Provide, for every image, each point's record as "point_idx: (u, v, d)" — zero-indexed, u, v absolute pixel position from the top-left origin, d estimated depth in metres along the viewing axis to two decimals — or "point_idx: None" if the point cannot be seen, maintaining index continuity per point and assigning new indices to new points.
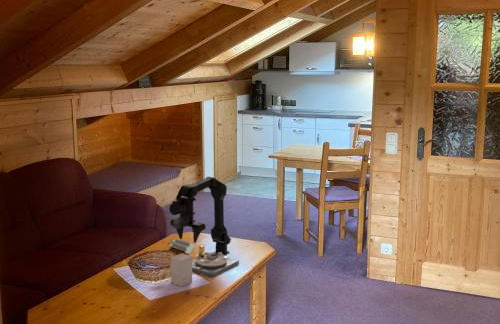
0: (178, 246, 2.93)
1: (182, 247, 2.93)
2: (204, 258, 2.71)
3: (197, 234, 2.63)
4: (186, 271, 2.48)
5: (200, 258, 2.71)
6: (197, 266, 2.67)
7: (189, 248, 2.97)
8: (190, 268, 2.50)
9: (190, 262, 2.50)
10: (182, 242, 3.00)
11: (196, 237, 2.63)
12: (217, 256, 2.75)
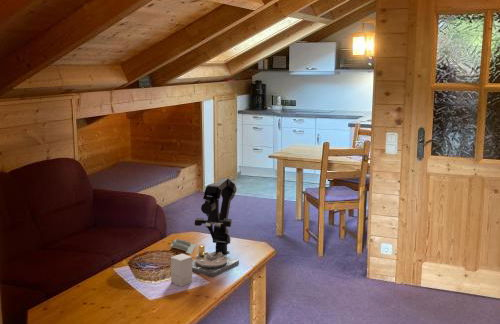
0: (179, 246, 2.93)
1: (183, 247, 2.93)
2: (204, 258, 2.71)
3: None
4: (186, 271, 2.48)
5: (200, 258, 2.71)
6: (197, 266, 2.67)
7: (190, 248, 2.97)
8: (190, 268, 2.50)
9: (190, 262, 2.50)
10: (183, 242, 3.00)
11: None
12: (217, 256, 2.75)
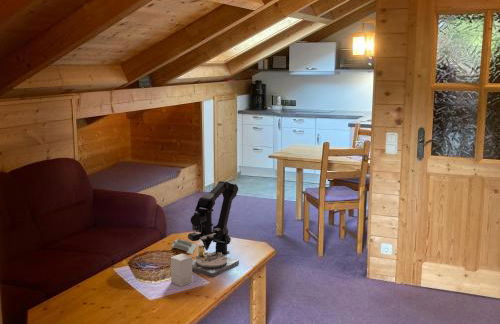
0: (180, 246, 2.93)
1: (184, 247, 2.93)
2: (204, 258, 2.71)
3: (204, 243, 2.75)
4: (186, 271, 2.48)
5: (200, 258, 2.71)
6: (197, 266, 2.67)
7: (191, 248, 2.96)
8: (190, 268, 2.50)
9: (190, 262, 2.50)
10: (184, 242, 3.00)
11: (204, 245, 2.76)
12: (217, 256, 2.75)
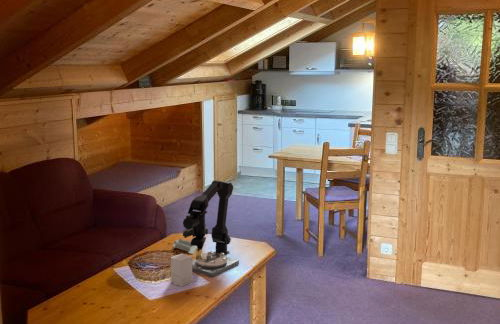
0: (181, 246, 2.93)
1: (185, 247, 2.93)
2: (206, 260, 2.69)
3: None
4: (186, 271, 2.48)
5: (203, 261, 2.68)
6: (197, 266, 2.67)
7: (192, 248, 2.96)
8: (190, 268, 2.50)
9: (190, 262, 2.50)
10: (185, 242, 3.00)
11: (199, 247, 2.72)
12: None
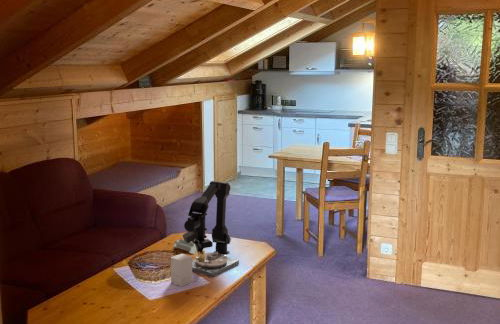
0: (182, 246, 2.93)
1: (186, 247, 2.93)
2: (210, 260, 2.69)
3: None
4: (186, 271, 2.48)
5: (209, 262, 2.67)
6: (197, 266, 2.67)
7: (193, 248, 2.96)
8: (190, 268, 2.50)
9: (190, 262, 2.50)
10: None
11: (200, 250, 2.68)
12: None
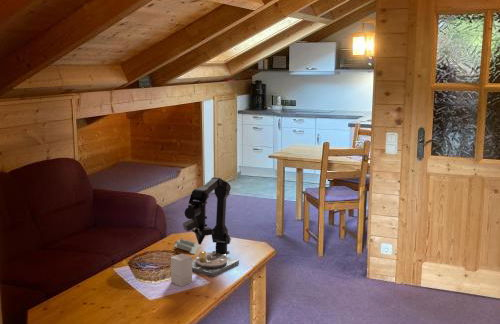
0: (183, 246, 2.93)
1: (187, 247, 2.93)
2: (211, 260, 2.69)
3: (202, 236, 2.66)
4: (186, 271, 2.48)
5: (211, 262, 2.67)
6: (197, 266, 2.67)
7: (194, 248, 2.96)
8: (190, 268, 2.50)
9: (190, 262, 2.50)
10: (187, 242, 3.00)
11: (200, 239, 2.66)
12: (207, 255, 2.75)
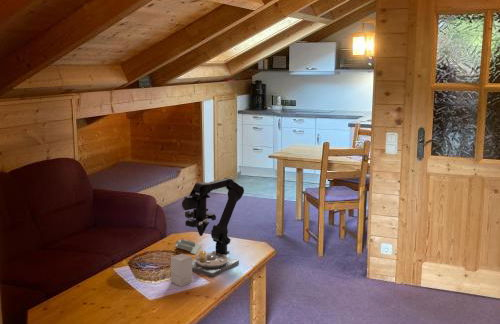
0: (184, 246, 2.93)
1: (188, 247, 2.93)
2: (211, 260, 2.69)
3: (200, 228, 2.78)
4: (186, 271, 2.48)
5: (211, 262, 2.67)
6: (197, 266, 2.67)
7: (195, 248, 2.96)
8: (190, 268, 2.50)
9: (190, 262, 2.50)
10: (188, 242, 3.00)
11: (199, 231, 2.78)
12: (207, 255, 2.75)
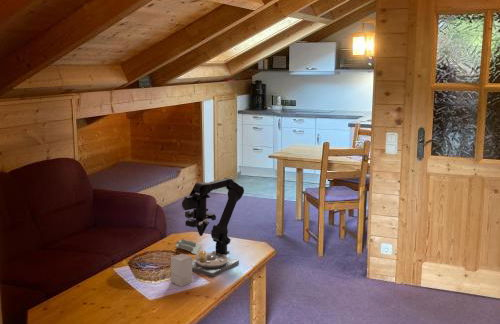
0: (184, 246, 2.93)
1: (188, 247, 2.93)
2: (211, 260, 2.69)
3: (200, 228, 2.78)
4: (186, 271, 2.48)
5: (211, 262, 2.67)
6: (197, 266, 2.67)
7: (195, 248, 2.96)
8: (190, 268, 2.50)
9: (190, 262, 2.50)
10: (188, 242, 3.00)
11: (199, 231, 2.78)
12: (207, 255, 2.75)
